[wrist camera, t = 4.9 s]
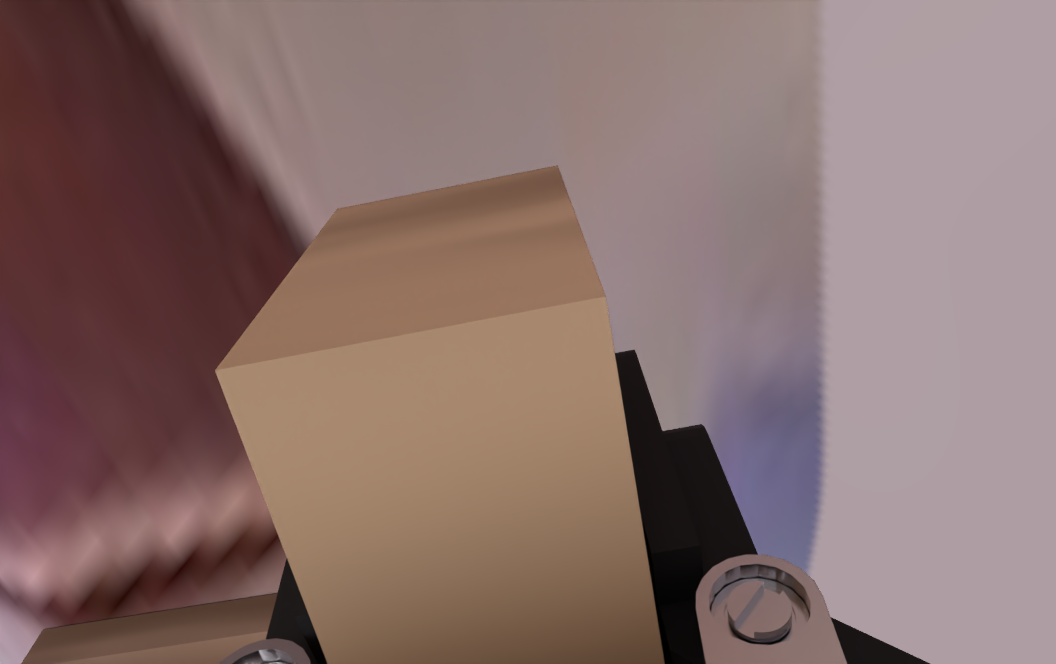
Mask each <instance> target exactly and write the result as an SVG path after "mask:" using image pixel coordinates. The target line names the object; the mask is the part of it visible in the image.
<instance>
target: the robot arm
mask: <svg viewBox="0 0 1056 664" xmlns="http://www.w3.org/2000/svg"><path fill="white" fill-rule="evenodd" d="M615 358H616V364H617V370H618V377H619V383H620V389H621V395H622V401H623V408H624V414H625V420H626V426H627V433H628V439H629V445H630V451H631V457H632V464H633V470H634V476H635V482H636V489H637V495H638V501H639V507H640V514H641V520H642V526H643V532H644V538H645V545H646V551H647V557H648V563H649V570H650V576H651V582H652V588H653V594H654V601H655V607H656V613H657V619H658V626H659V632H660V638H661V644H662V650H663V657H664V663H665V664H930V663H927V662H925V661H923V660H921V659H919V658H917V657H914V656H913V655H910V654H908V653H906V652H904V651H902V650H900V649H898V648H895V647H893V646H891V645H889V644H887V643H885V642H883V641H880V640H878V639H876V638H874V637H872V636H870V635H868V634H866V633H863V632H861V631H859V630H857V629H855V628H853V627H851V626H848V625H846V624H844V623H842V622H840V621H838V620H836V619H833V618H831V617H830V615H829V611H828V609H827V606H826V603H825V600H824V598H823V595H822V594H821V592H820V590H819V588H818V586H817V585H816V583H815V581H814V580H813V579H812V578H811V577H810V576H808V575H807V574H806V573H805V572H804V571H803V570H802V569H801V568H799V567H797V566H795V565H793V564H791V563H789V562H788V561H786V560H784V559H780V558H776V557H772V556H768V555H758V554H757V551H756V549H755V546H754V544H753V542H752V539H751V537H750V534H749V532H748V529H747V527H746V525H745V522H744V520H743V517H742V515H741V513H740V510H739V508H738V505H737V503H736V501H735V498H734V496H733V493H732V491H731V488H730V486H729V484H728V481H727V479H726V476H725V474H724V472H723V469H722V467H721V464H720V462H719V460H718V457H717V455H716V452H715V450H714V448H713V445H712V443H711V440H710V438H709V435H708V433H707V431H706V429H705V427H704V426H703V425H702V424H700V425H695V426H689V427H684V428H678V429H673V430H667V431H662V429H661V426H660V423H659V420H658V417H657V414H656V411H655V408H654V405H653V402H652V399H651V396H650V393H649V390H648V387H647V384H646V381H645V378H644V376H643V373H642V370H641V367H640V364H639V361H638V358H637V355H636V352H635V350H630V351H625V352H619V353H615ZM219 664H328V663H327V661H326V658H325V656H324V653H323V650H322V648H321V645H320V643H319V640H318V637H317V635H316V632H315V630H314V627H313V624H312V622H311V619H310V617H309V614H308V611H307V609H306V606H305V603H304V601H303V598H302V596H301V593H300V590H299V588H298V585H297V583H296V580H295V577H294V575H293V572H292V570H291V567H290V564H289V562H288V559H286V563H285V567H284V571H283V575H282V579H281V582H280V586H279V590H278V594H277V598H276V601H275V605H274V609H273V613H272V617H271V621H270V624H269V628H268V632H267V636H266V640H259V641H257V642H254V643H251V644H249V645H246V646H243V647H241V648H240V649H238V650H236V651H235V652H233V653H232V654H230V655H229V656H227V657H225V658H224V659H223V660H222V661H221V662H220V663H219Z"/></svg>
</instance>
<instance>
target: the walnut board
mask: <svg viewBox="0 0 1056 664" xmlns="http://www.w3.org/2000/svg"><path fill="white" fill-rule="evenodd" d="M277 594H278V593H276V594H270V595H263V596H257V597H250V598H244V599H237V600H231V601H224V602H218V603H211V604H205V605H199V606H192V607H186V608H179V609H173V610H166V611H160V612H153V613H147V614H140V615H134V616H128V617H121V618H115V619H108V620H102V621H95V622H89V623H82V624H76V625H69V626H63V627H57V628H50V629H44V630H43V631H42V632H41V634H40V635H39V637H38V638H37V640H36V642H35V643H34V645H33V646H32V648H31V649H30V651H29V653H28V654H27V656H26V657H25V659H24V660H23V662H22V664H219V663H220V662H221V661H222V660H223V659H224V658H225V657H227V656H229V655H230V654H232V653H233V652H235V651H236V650H238V649H240V648H241V647H243V646H246V645H249V644H251V643H254V642H257V641H259V640H266V636H267V632H268V628H269V624H270V621H271V617H272V613H273V609H274V605H275V601H276V598H277Z"/></svg>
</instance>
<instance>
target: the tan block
mask: <svg viewBox="0 0 1056 664" xmlns="http://www.w3.org/2000/svg"><path fill="white" fill-rule="evenodd" d="M215 372H216V374H217V377H218V380H219V382H220V385H221V387H222V390H223V393H224V395H225V398H226V400H227V403H228V406H229V408H230V411H231V413H232V416H233V419H234V421H235V424H236V427H237V429H238V432H239V434H240V437H241V440H242V442H243V445H244V447H245V450H246V453H247V455H248V458H249V460H250V463H251V466H252V468H253V471H254V473H255V476H256V479H257V481H258V484H259V486H260V489H261V492H262V494H263V497H264V499H265V502H266V505H267V507H268V510H269V512H270V515H271V518H272V520H273V523H274V525H275V528H276V531H277V533H278V536H279V538H280V541H281V544H282V546H283V549H284V551H285V554H286V557H287V559H288V562H289V564H290V567H291V570H292V572H293V575H294V577H295V580H296V583H297V585H298V588H299V590H300V593H301V596H302V598H303V601H304V603H305V606H306V609H307V611H308V614H309V617H310V619H311V622H312V624H313V627H314V630H315V632H316V635H317V637H318V640H319V643H320V645H321V648H322V650H323V653H324V656H325V658H326V661H327V663H328V664H665V663H664V657H663V650H662V644H661V638H660V632H659V626H658V619H657V613H656V607H655V601H654V594H653V588H652V582H651V576H650V570H649V563H648V557H647V551H646V545H645V538H644V532H643V526H642V520H641V514H640V507H639V501H638V495H637V489H636V482H635V476H634V470H633V464H632V457H631V451H630V445H629V439H628V433H627V426H626V420H625V414H624V408H623V401H622V395H621V389H620V383H619V377H618V370H617V364H616V358H615V352H614V345H613V339H612V333H611V327H610V321H609V314H608V308H607V302H606V296H605V293H604V291H603V288H602V285H601V282H600V280H599V277H598V274H597V272H596V269H595V266H594V263H593V261H592V258H591V255H590V253H589V250H588V247H587V245H586V242H585V239H584V236H583V234H582V231H581V228H580V226H579V223H578V220H577V217H576V215H575V212H574V209H573V207H572V204H571V201H570V198H569V196H568V193H567V190H566V188H565V185H564V182H563V179H562V177H561V174H560V171H559V169H558V166H553V167H548V168H542V169H537V170H532V171H527V172H522V173H517V174H512V175H507V176H502V177H497V178H492V179H487V180H482V181H477V182H471V183H466V184H461V185H456V186H451V187H446V188H441V189H436V190H431V191H426V192H421V193H416V194H411V195H405V196H400V197H395V198H390V199H385V200H380V201H375V202H370V203H365V204H360V205H355V206H350V207H345V208H340V209H337V210H336V211H335V213H334V214H333V215H332V216H331V218H330V219H329V220H328V222H327V223H326V224H325V226H324V227H323V228H322V230H321V231H320V232H319V234H318V235H317V236H316V238H315V239H314V240H313V242H312V243H311V244H310V246H309V247H308V248H307V250H306V251H305V252H304V254H303V255H302V256H301V258H300V259H299V260H298V261H297V263H296V264H295V265H294V267H293V268H292V269H291V271H290V272H289V273H288V275H287V276H286V277H285V279H284V280H283V281H282V283H281V284H280V285H279V287H278V288H277V289H276V291H275V292H274V293H273V295H272V296H271V297H270V299H269V300H268V301H267V303H266V304H265V305H264V306H263V308H262V309H261V310H260V312H259V313H258V314H257V316H256V317H255V318H254V320H253V321H252V322H251V324H250V325H249V326H248V328H247V329H246V330H245V332H244V333H243V334H242V336H241V337H240V338H239V340H238V341H237V342H236V344H235V345H234V346H233V348H232V349H231V350H230V351H229V353H228V354H227V355H226V357H225V358H224V359H223V361H222V362H221V363H220V365H219V366H218V367H217V369H216V370H215Z"/></svg>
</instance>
